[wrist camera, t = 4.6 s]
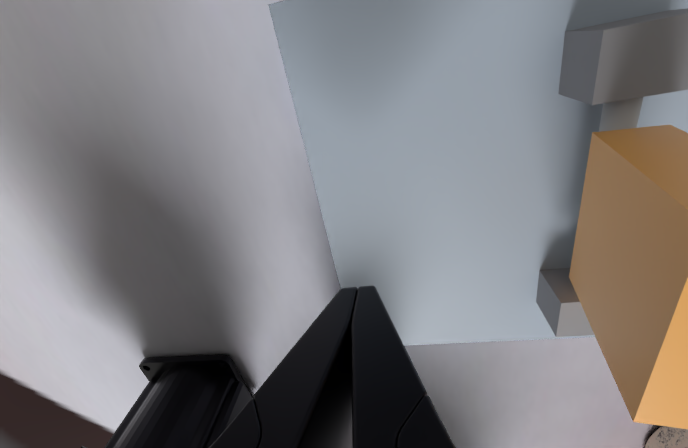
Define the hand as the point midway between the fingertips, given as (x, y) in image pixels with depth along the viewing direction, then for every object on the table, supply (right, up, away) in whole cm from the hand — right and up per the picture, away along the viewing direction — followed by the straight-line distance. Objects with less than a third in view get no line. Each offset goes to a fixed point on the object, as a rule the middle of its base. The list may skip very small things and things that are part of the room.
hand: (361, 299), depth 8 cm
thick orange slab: (+7, +3, +2) cm, 8 cm away
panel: (+8, +4, +5) cm, 10 cm away
